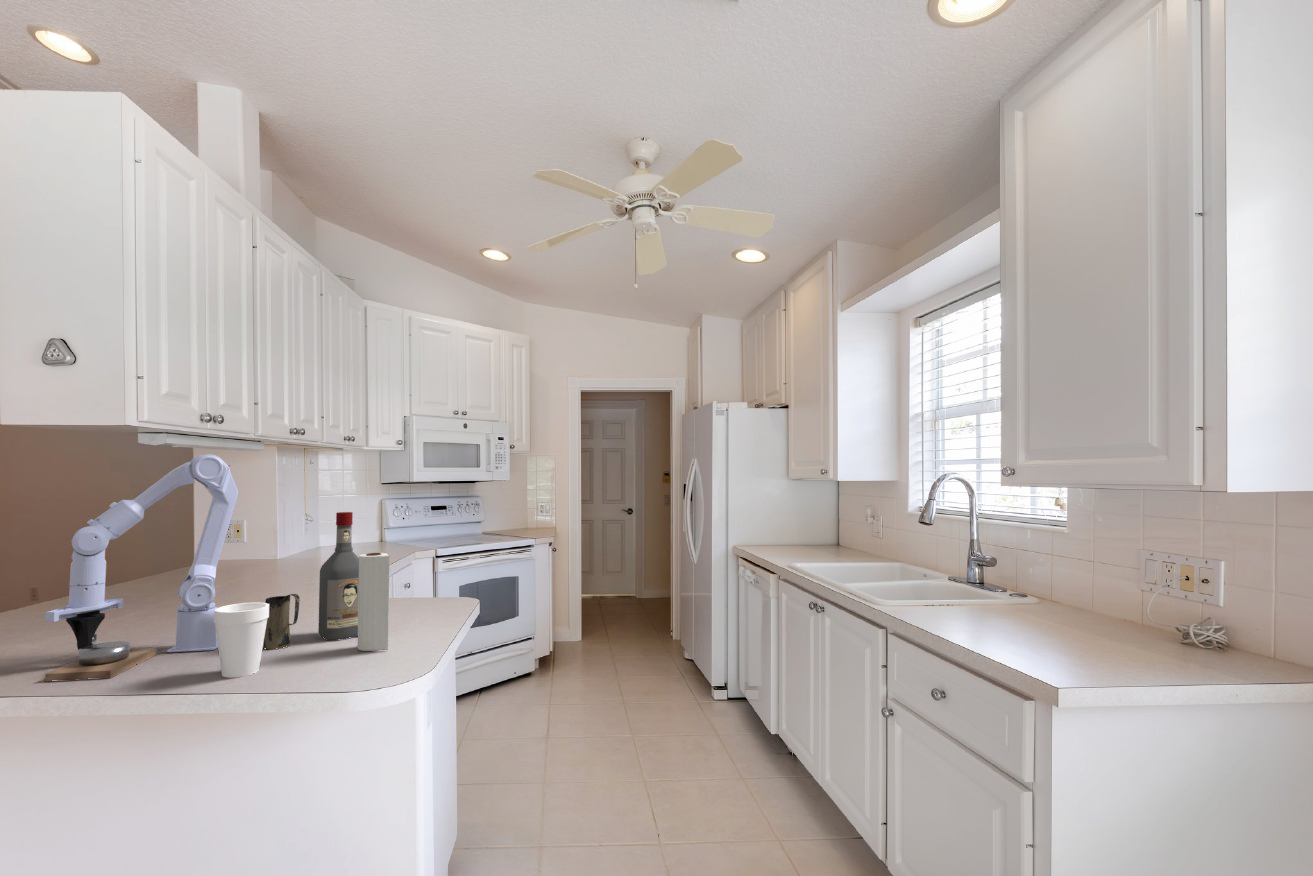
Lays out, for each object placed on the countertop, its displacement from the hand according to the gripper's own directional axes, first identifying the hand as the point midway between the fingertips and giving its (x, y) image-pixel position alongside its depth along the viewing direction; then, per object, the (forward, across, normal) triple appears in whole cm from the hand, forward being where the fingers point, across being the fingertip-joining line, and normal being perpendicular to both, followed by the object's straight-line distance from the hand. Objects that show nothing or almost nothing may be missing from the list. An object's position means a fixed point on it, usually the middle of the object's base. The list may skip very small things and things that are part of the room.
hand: (84, 649), depth 137 cm
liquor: (+3, -30, +39) cm, 49 cm away
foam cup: (+3, 0, +37) cm, 37 cm away
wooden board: (+3, +1, +7) cm, 7 cm away
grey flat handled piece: (+1, 0, +3) cm, 4 cm away
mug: (+3, -18, +31) cm, 36 cm away
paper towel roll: (+3, -20, +53) cm, 57 cm away
